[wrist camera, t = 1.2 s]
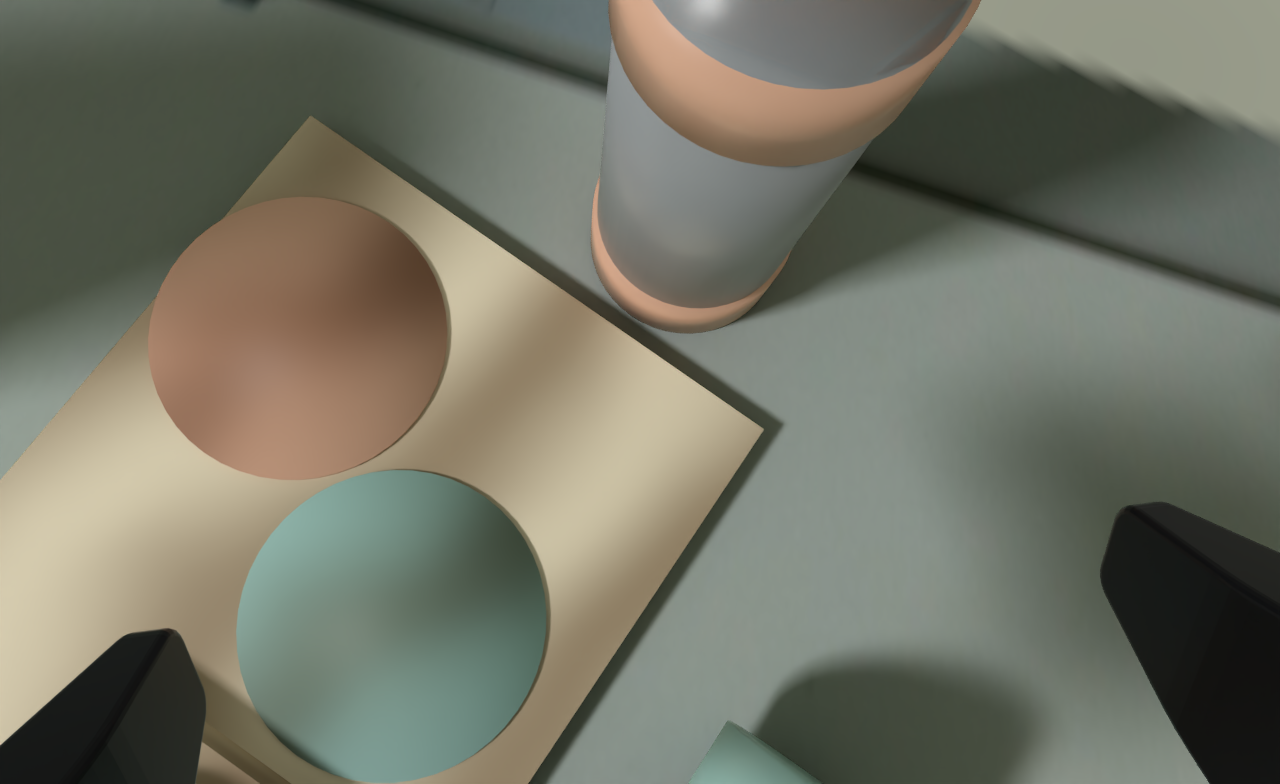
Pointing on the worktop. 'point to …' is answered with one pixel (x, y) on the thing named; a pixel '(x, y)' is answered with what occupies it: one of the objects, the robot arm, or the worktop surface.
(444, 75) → the worktop surface
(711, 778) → the tube teal
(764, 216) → the tube terracotta
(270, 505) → the board
